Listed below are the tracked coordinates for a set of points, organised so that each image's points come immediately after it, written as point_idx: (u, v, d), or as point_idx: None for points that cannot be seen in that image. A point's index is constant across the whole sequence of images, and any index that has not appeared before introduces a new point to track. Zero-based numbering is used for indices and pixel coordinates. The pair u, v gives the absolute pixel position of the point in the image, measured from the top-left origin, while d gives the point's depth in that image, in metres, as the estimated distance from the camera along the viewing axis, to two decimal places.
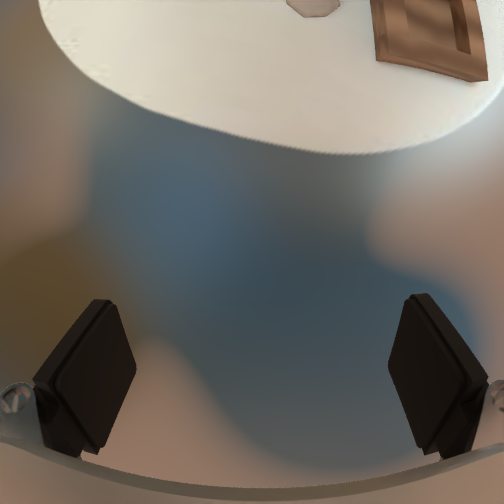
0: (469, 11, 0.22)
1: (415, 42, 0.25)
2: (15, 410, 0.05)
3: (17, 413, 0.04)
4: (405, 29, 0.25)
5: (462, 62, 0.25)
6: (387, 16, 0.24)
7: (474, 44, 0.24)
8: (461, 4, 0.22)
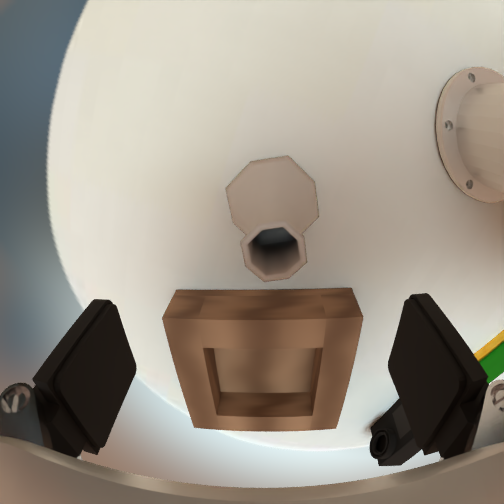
0: (287, 422, 0.28)
1: (196, 354, 0.25)
2: (16, 410, 0.05)
3: (17, 413, 0.04)
4: (213, 344, 0.24)
5: (199, 404, 0.28)
6: (226, 322, 0.23)
7: (236, 421, 0.29)
8: (296, 414, 0.28)
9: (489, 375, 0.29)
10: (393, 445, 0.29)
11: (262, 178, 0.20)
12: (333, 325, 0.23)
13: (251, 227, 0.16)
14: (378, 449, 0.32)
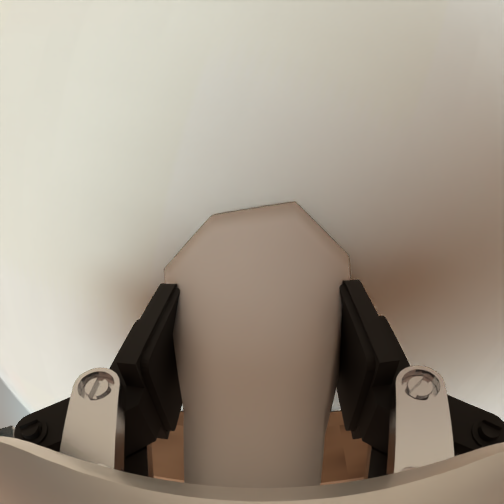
0: None
1: None
2: (93, 395, 0.06)
3: (93, 401, 0.05)
4: None
5: None
6: None
7: None
8: None
9: None
10: None
11: (231, 276, 0.08)
12: None
13: (189, 478, 0.04)
14: None
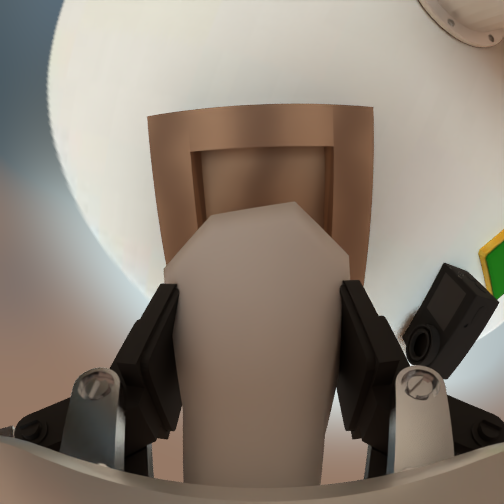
0: None
1: (182, 164, 0.21)
2: (93, 395, 0.06)
3: (93, 401, 0.05)
4: (203, 145, 0.20)
5: None
6: (219, 111, 0.19)
7: None
8: None
9: None
10: (437, 341, 0.25)
11: (231, 276, 0.08)
12: (342, 115, 0.19)
13: (188, 479, 0.04)
14: (417, 357, 0.27)
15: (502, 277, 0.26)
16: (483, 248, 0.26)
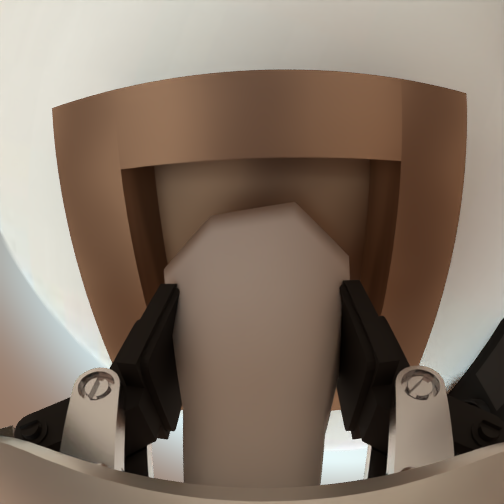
0: None
1: (109, 193, 0.10)
2: (92, 395, 0.06)
3: (94, 401, 0.05)
4: (143, 156, 0.10)
5: None
6: (173, 86, 0.09)
7: None
8: None
9: None
10: None
11: (231, 276, 0.08)
12: (417, 101, 0.08)
13: (189, 479, 0.04)
14: None
15: None
16: None
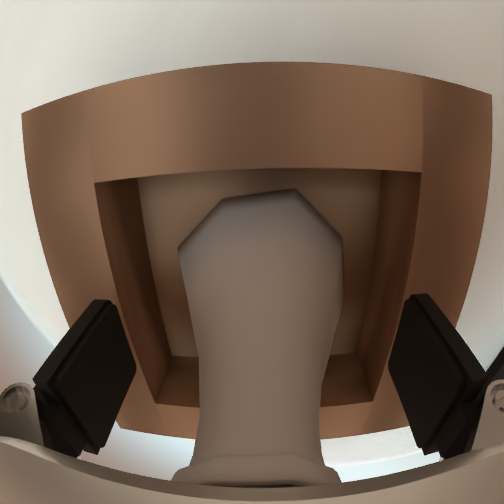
0: None
1: (82, 210, 0.09)
2: (16, 411, 0.05)
3: (17, 413, 0.04)
4: (118, 167, 0.08)
5: None
6: (151, 83, 0.07)
7: None
8: (337, 400, 0.12)
9: None
10: None
11: (241, 247, 0.10)
12: (440, 102, 0.07)
13: (205, 412, 0.06)
14: None
15: None
16: None
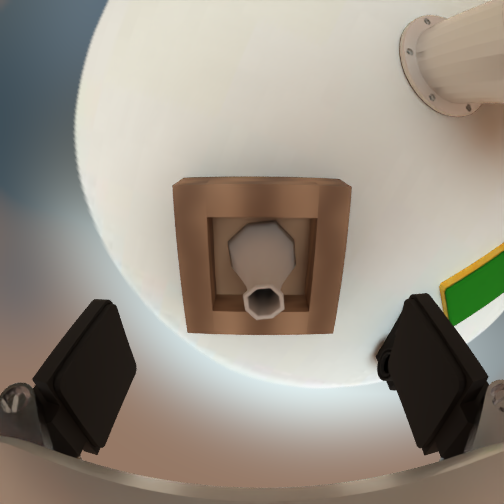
0: (283, 320, 0.31)
1: (200, 226, 0.28)
2: (16, 410, 0.05)
3: (17, 413, 0.04)
4: (217, 213, 0.27)
5: (196, 295, 0.30)
6: (230, 187, 0.26)
7: (231, 319, 0.31)
8: (293, 310, 0.31)
9: (477, 298, 0.33)
10: None
11: (256, 241, 0.29)
12: (326, 193, 0.26)
13: (249, 283, 0.25)
14: (386, 373, 0.35)
15: (458, 309, 0.34)
16: (444, 283, 0.34)
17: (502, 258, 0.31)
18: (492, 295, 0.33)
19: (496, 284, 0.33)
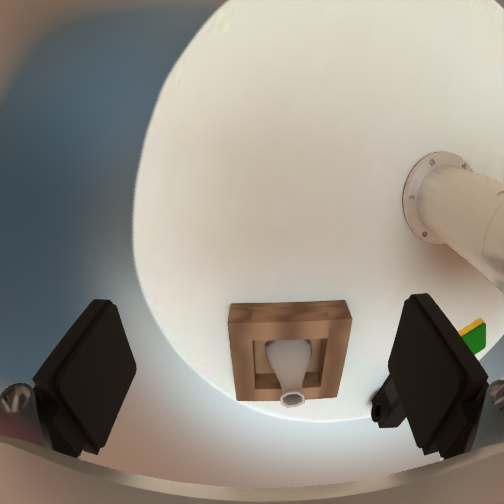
0: (303, 392, 0.43)
1: (247, 345, 0.39)
2: (16, 410, 0.05)
3: (17, 413, 0.04)
4: (259, 338, 0.39)
5: (243, 381, 0.42)
6: (269, 324, 0.38)
7: (268, 393, 0.43)
8: (309, 386, 0.43)
9: None
10: (386, 411, 0.43)
11: (285, 351, 0.40)
12: (334, 324, 0.38)
13: (282, 385, 0.36)
14: (378, 415, 0.46)
15: None
16: None
17: (473, 334, 0.41)
18: None
19: None
